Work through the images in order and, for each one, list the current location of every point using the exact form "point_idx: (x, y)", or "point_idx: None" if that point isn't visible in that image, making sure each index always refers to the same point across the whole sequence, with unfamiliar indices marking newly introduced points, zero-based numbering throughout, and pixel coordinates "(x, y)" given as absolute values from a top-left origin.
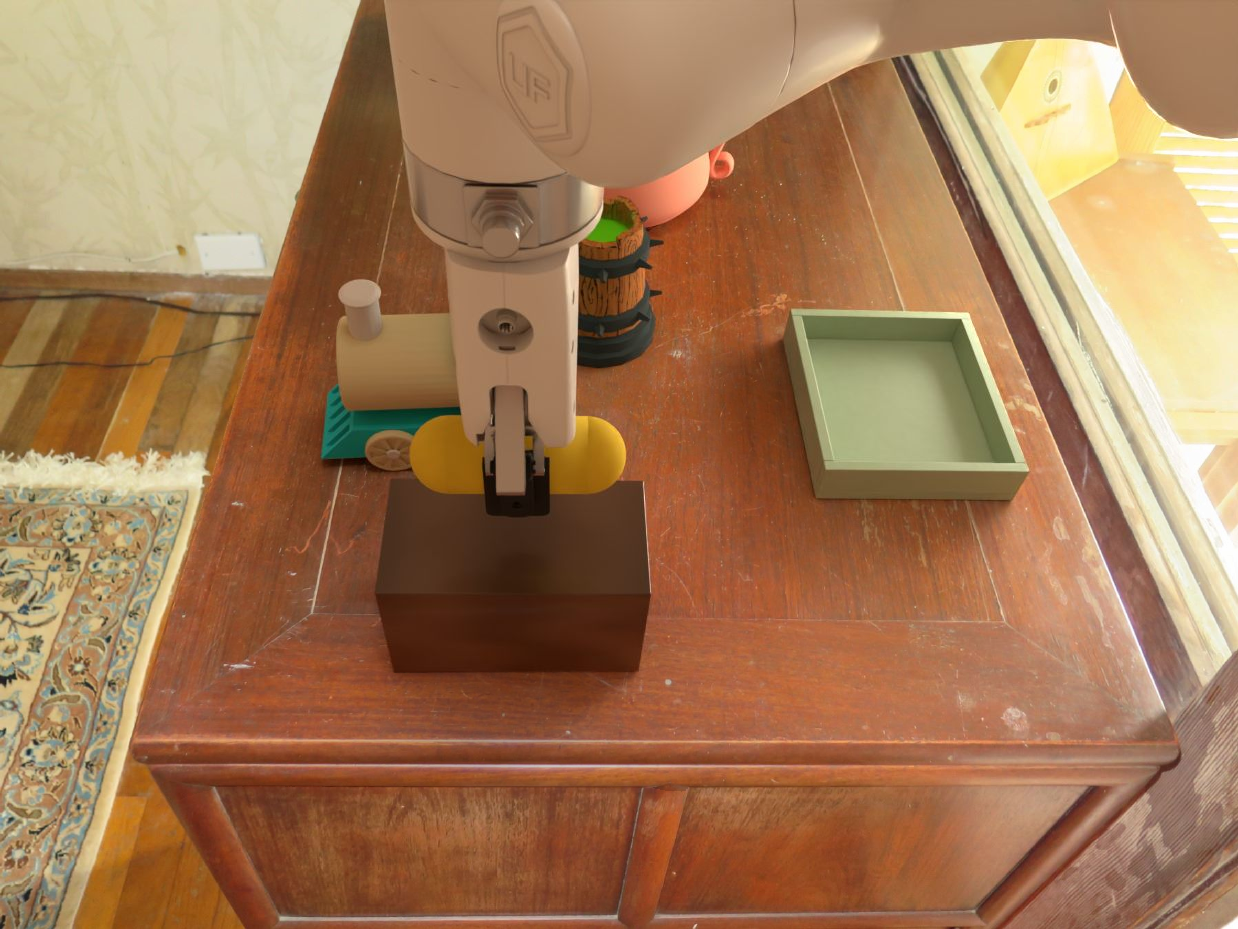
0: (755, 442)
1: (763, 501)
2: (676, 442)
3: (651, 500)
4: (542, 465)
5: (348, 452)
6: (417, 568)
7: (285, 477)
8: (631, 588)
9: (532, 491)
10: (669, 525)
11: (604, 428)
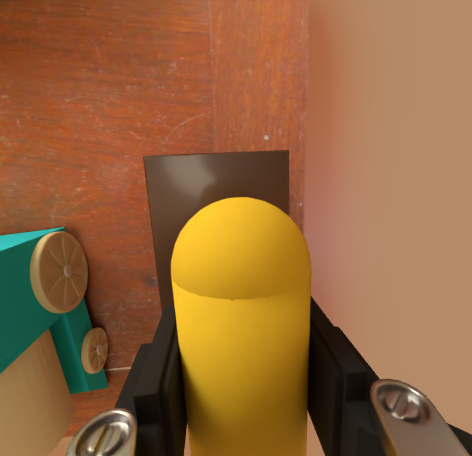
0: (10, 36)
1: (86, 38)
2: (29, 120)
3: (103, 146)
4: (441, 421)
5: (101, 375)
6: None
7: None
8: (282, 170)
9: (364, 361)
10: (127, 131)
11: (237, 260)
